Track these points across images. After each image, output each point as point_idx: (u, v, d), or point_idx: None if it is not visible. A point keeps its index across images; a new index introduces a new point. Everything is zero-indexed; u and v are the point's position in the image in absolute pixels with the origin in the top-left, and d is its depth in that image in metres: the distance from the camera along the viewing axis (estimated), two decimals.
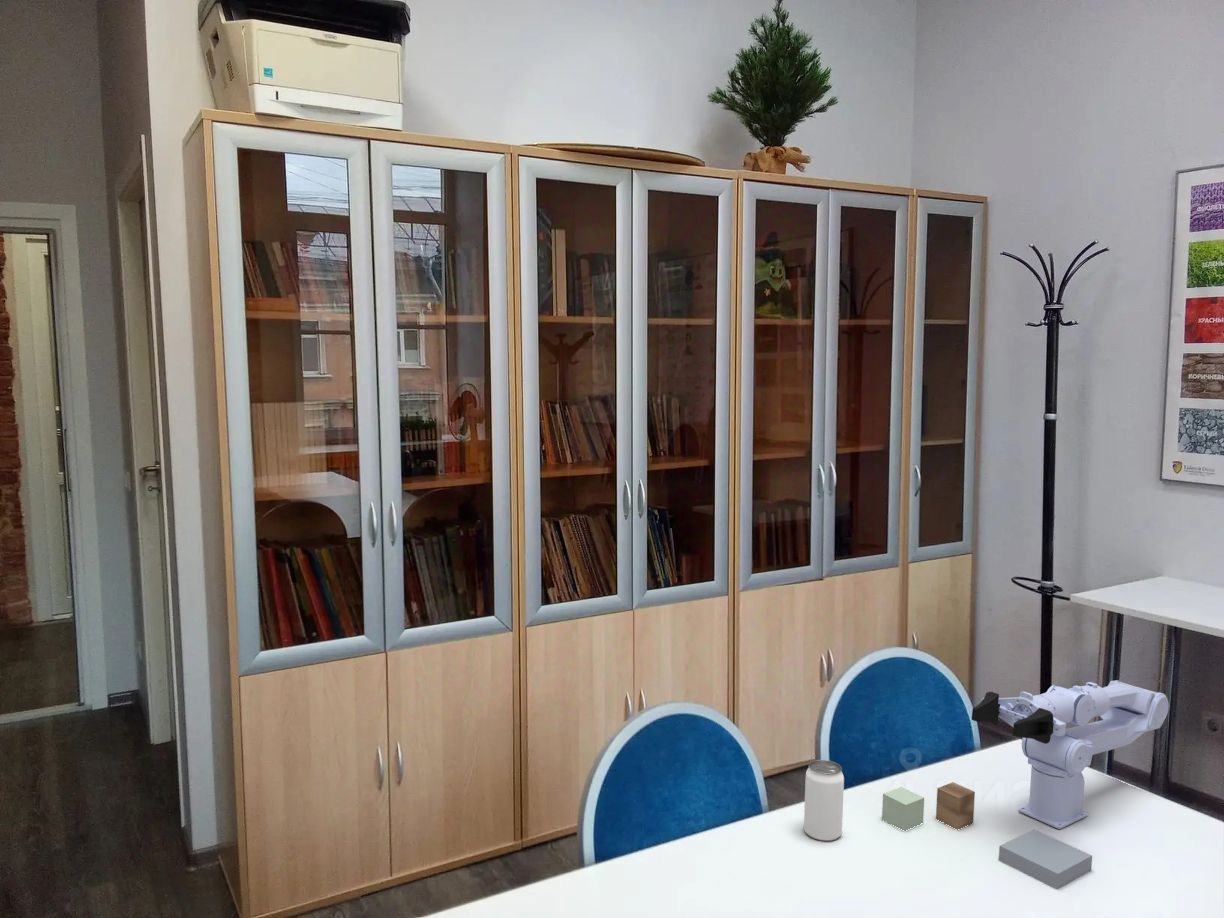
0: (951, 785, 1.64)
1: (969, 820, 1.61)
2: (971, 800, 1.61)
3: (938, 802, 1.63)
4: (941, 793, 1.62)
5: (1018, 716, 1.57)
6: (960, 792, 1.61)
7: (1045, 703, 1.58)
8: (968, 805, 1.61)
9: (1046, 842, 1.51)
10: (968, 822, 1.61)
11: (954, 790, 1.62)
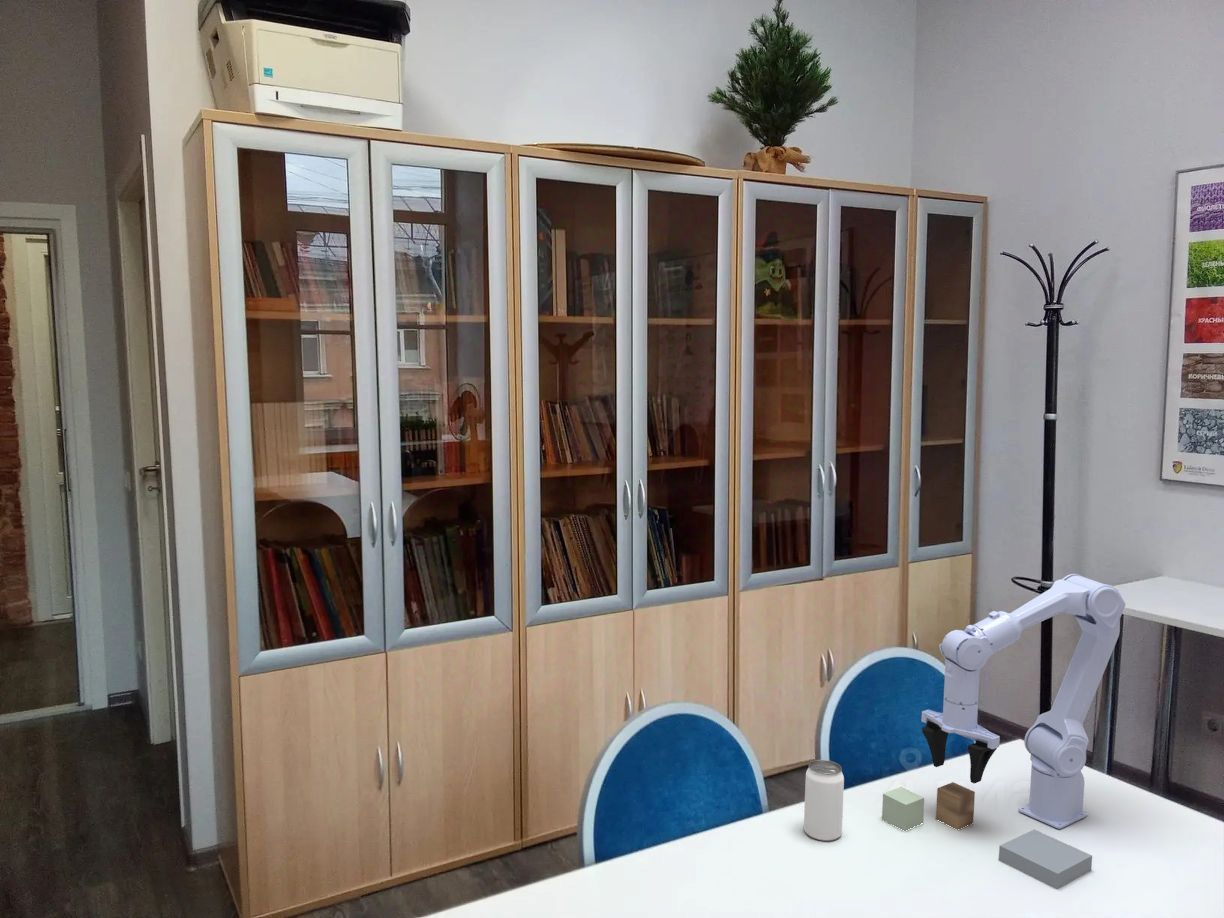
0: (951, 785, 1.64)
1: (969, 820, 1.61)
2: (971, 800, 1.61)
3: (938, 802, 1.63)
4: (941, 793, 1.62)
5: (958, 733, 1.61)
6: (960, 792, 1.61)
7: (960, 713, 1.58)
8: (968, 805, 1.61)
9: (1046, 842, 1.51)
10: (968, 822, 1.61)
11: (954, 790, 1.62)
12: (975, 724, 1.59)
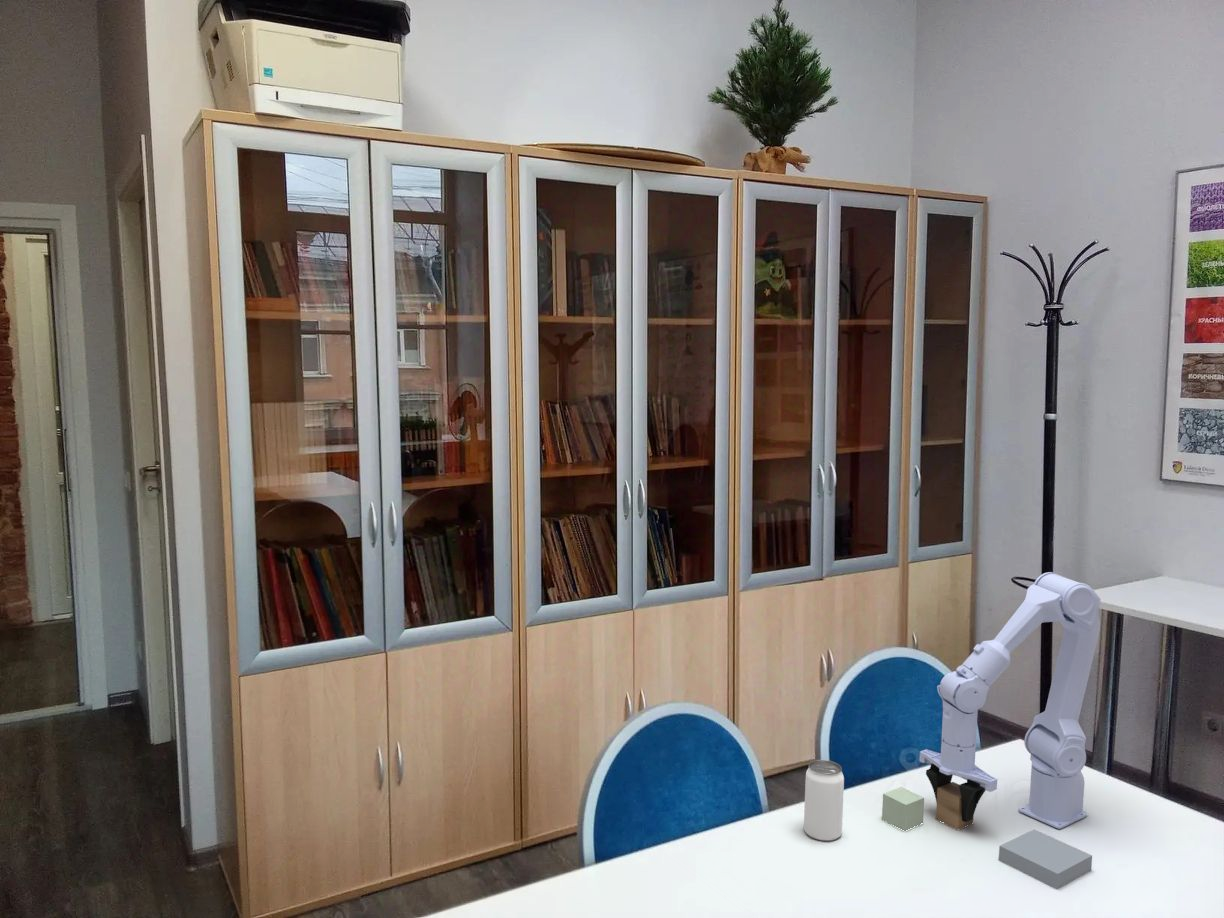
0: (951, 784, 1.64)
1: None
2: None
3: (938, 802, 1.63)
4: (941, 793, 1.62)
5: None
6: None
7: (958, 755, 1.59)
8: None
9: (1046, 842, 1.51)
10: (968, 822, 1.61)
11: (954, 790, 1.62)
12: (973, 766, 1.60)
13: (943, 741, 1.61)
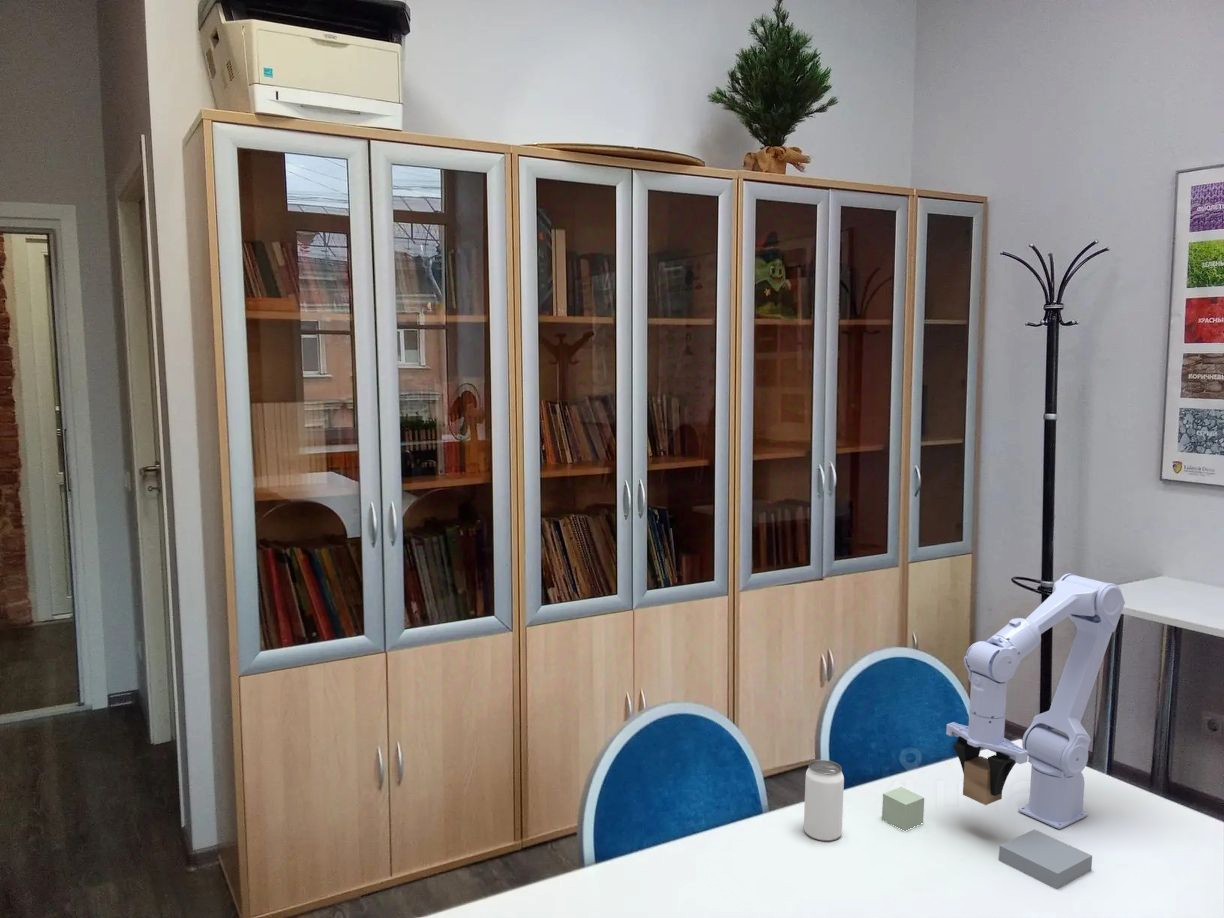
0: (979, 758, 1.59)
1: (997, 795, 1.56)
2: None
3: (965, 776, 1.58)
4: (968, 767, 1.57)
5: None
6: (988, 766, 1.56)
7: (987, 726, 1.54)
8: None
9: (1046, 842, 1.51)
10: (996, 797, 1.56)
11: (982, 764, 1.57)
12: (1002, 738, 1.55)
13: (971, 712, 1.56)
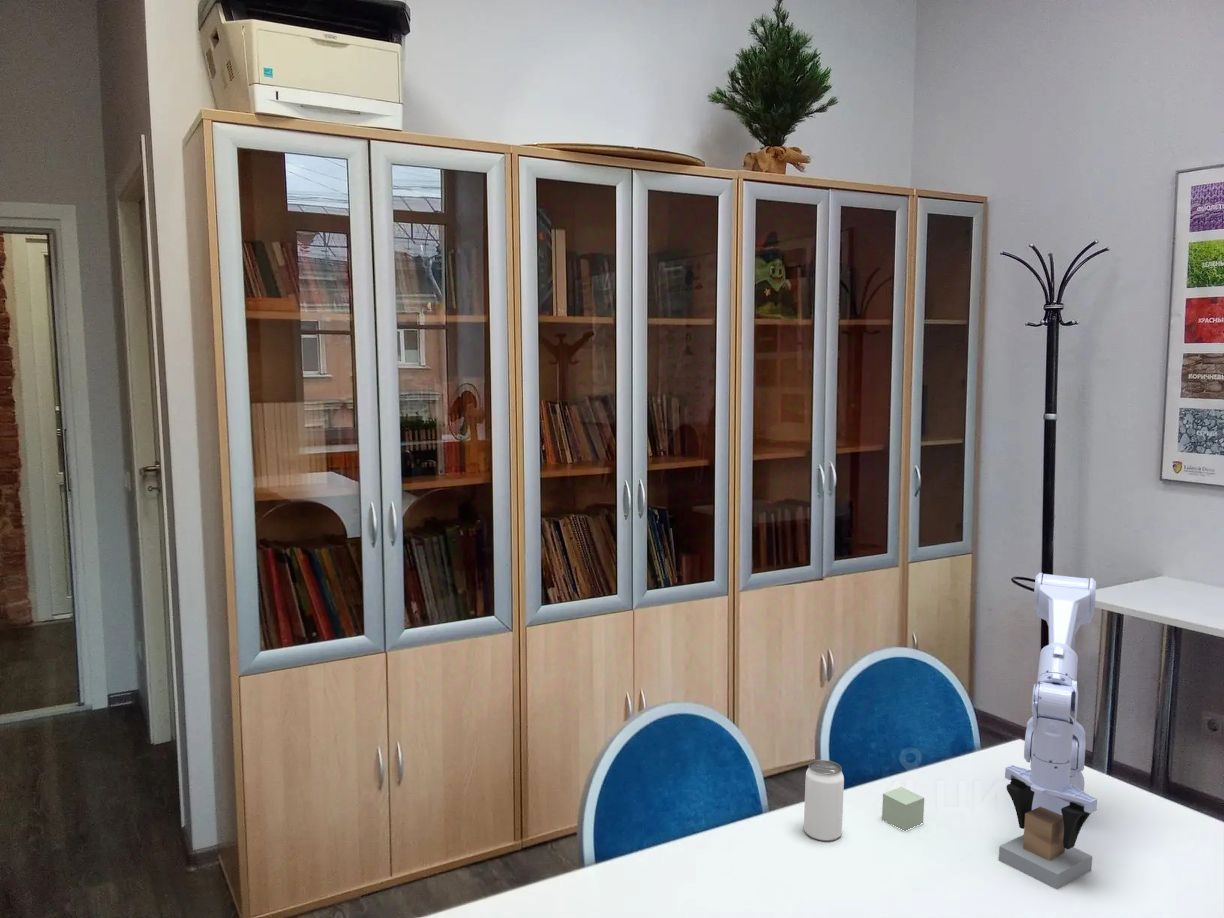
0: (1039, 809, 1.50)
1: (1061, 848, 1.47)
2: (1063, 827, 1.47)
3: (1026, 829, 1.48)
4: (1030, 819, 1.48)
5: None
6: (1051, 818, 1.47)
7: (1053, 772, 1.44)
8: (1060, 832, 1.47)
9: None
10: (1060, 851, 1.47)
11: (1044, 816, 1.48)
12: (1068, 784, 1.45)
13: (1034, 757, 1.46)
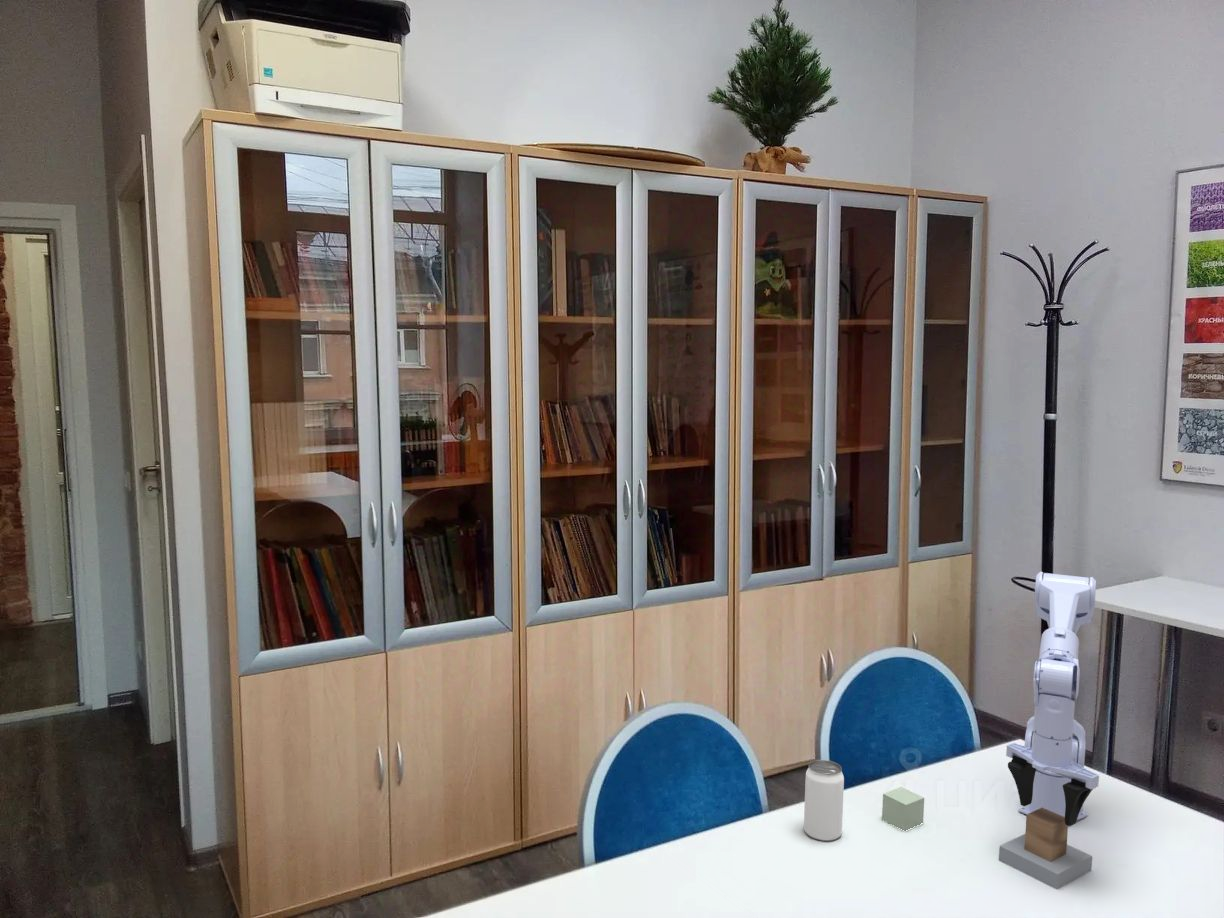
0: (1041, 811, 1.49)
1: (1062, 850, 1.47)
2: (1064, 828, 1.47)
3: (1027, 830, 1.48)
4: (1031, 820, 1.47)
5: None
6: (1052, 819, 1.46)
7: (1054, 749, 1.44)
8: (1061, 834, 1.46)
9: None
10: (1061, 852, 1.47)
11: (1046, 817, 1.47)
12: (1069, 761, 1.45)
13: (1036, 733, 1.46)
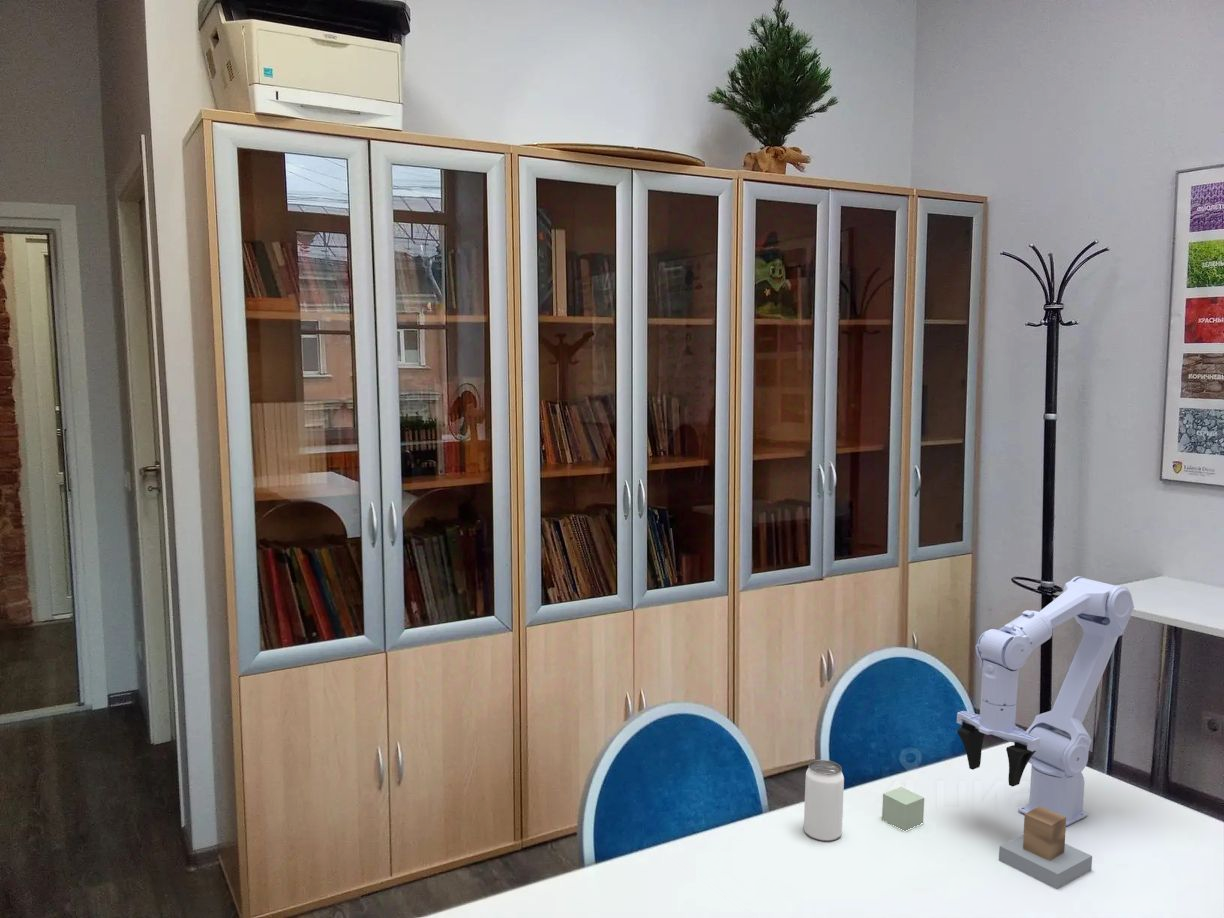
0: (1039, 809, 1.50)
1: (1060, 848, 1.47)
2: (1062, 827, 1.47)
3: (1026, 829, 1.48)
4: (1029, 820, 1.48)
5: (995, 735, 1.57)
6: (1050, 818, 1.47)
7: (999, 714, 1.54)
8: (1060, 832, 1.46)
9: None
10: (1059, 851, 1.47)
11: (1044, 816, 1.47)
12: (1013, 725, 1.55)
13: (983, 700, 1.56)
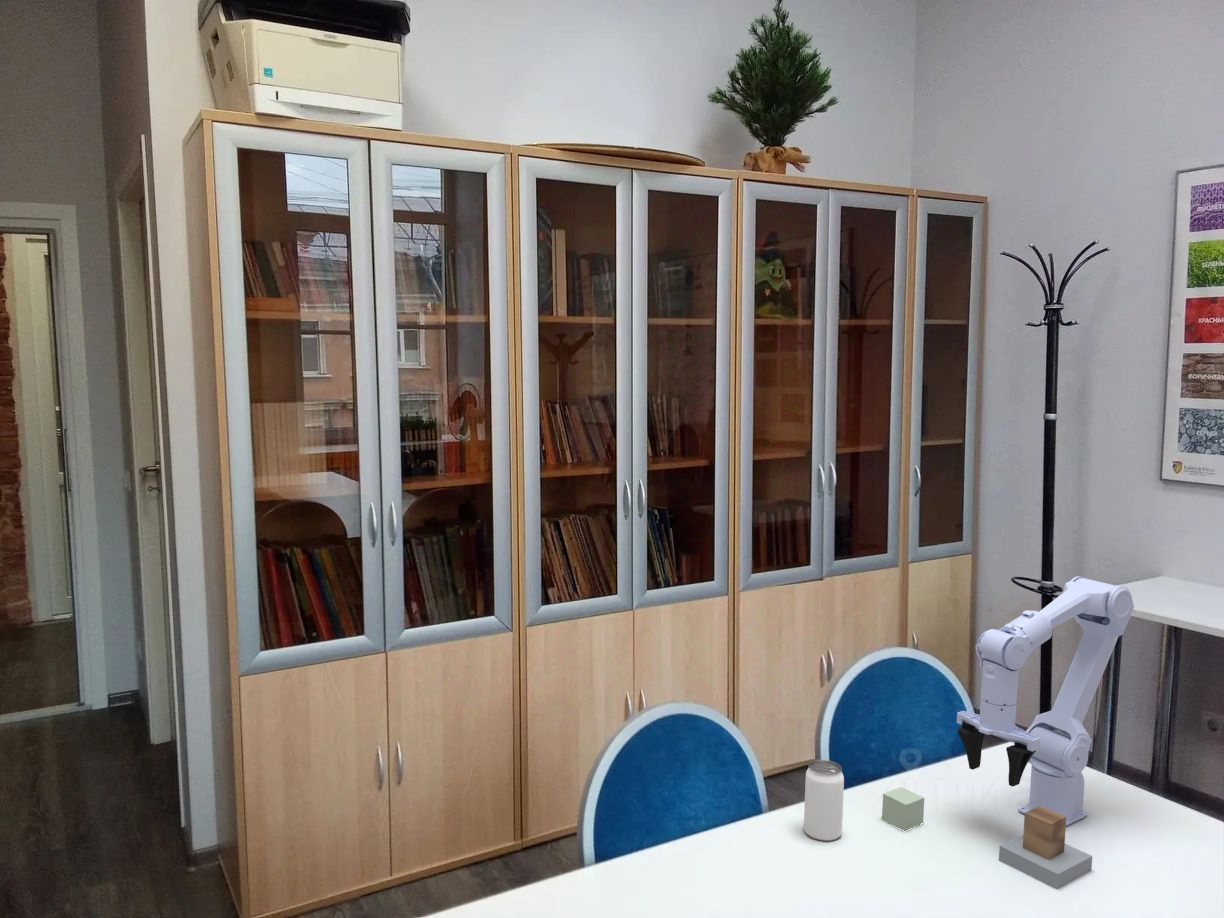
0: (1039, 809, 1.50)
1: (1060, 848, 1.47)
2: (1062, 826, 1.47)
3: (1026, 828, 1.49)
4: (1029, 818, 1.48)
5: (995, 735, 1.57)
6: (1050, 817, 1.47)
7: (999, 714, 1.54)
8: (1060, 832, 1.47)
9: None
10: (1059, 850, 1.47)
11: (1044, 815, 1.48)
12: (1013, 725, 1.55)
13: (983, 700, 1.56)
